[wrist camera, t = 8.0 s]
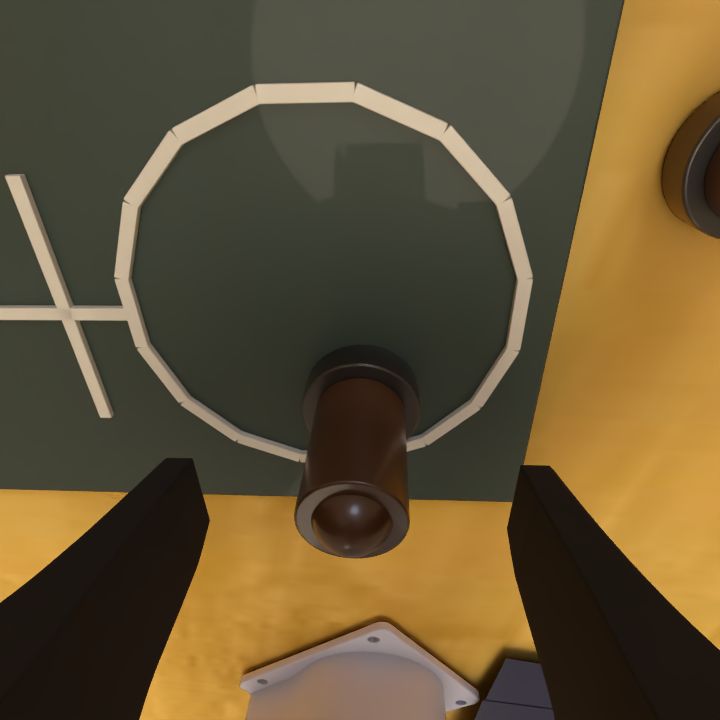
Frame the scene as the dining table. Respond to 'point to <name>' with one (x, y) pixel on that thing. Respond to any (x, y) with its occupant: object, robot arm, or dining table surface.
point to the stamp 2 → (696, 170)
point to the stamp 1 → (357, 452)
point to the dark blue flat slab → (517, 694)
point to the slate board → (283, 227)
